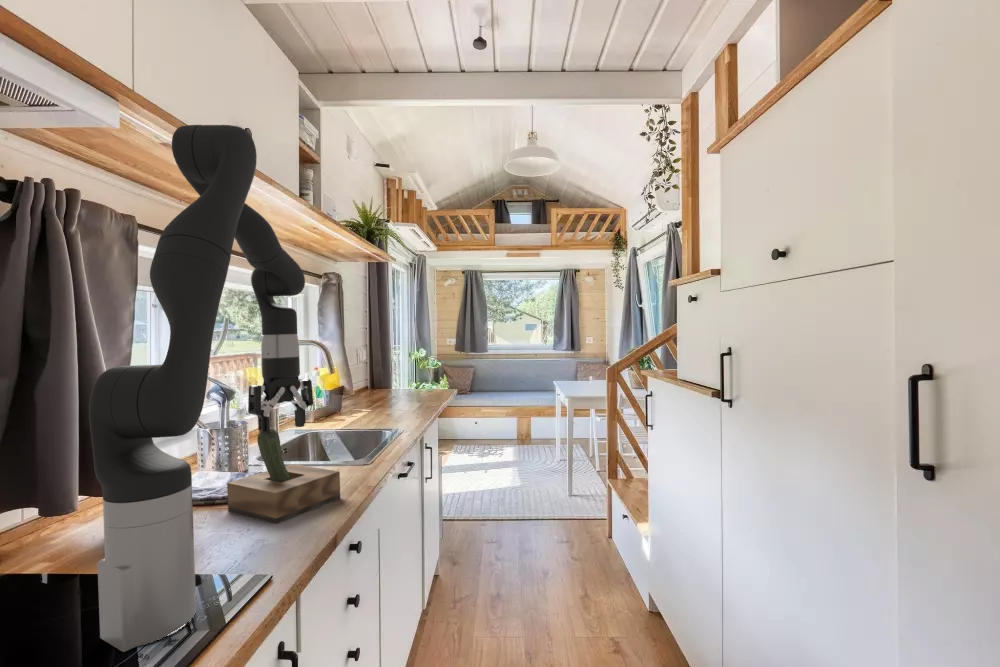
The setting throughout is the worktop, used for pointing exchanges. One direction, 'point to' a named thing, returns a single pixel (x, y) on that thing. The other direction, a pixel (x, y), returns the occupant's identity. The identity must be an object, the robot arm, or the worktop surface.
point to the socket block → (283, 493)
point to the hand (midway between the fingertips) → (283, 430)
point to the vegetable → (273, 456)
